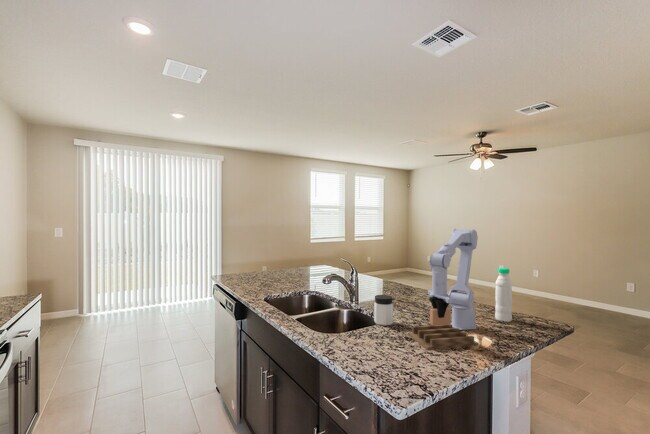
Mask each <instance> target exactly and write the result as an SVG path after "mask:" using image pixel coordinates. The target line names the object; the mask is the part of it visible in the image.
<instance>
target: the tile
mask: <svg viewBox="0 0 650 434" xmlns="http://www.w3.org/2000/svg"><path fill="white" fill-rule="evenodd" d="M451 323H452V308H449V307H447V309H446V312H445V315H444V318H439V317H438V310H437V309H433V308H429V325H447V324H451Z"/></svg>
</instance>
